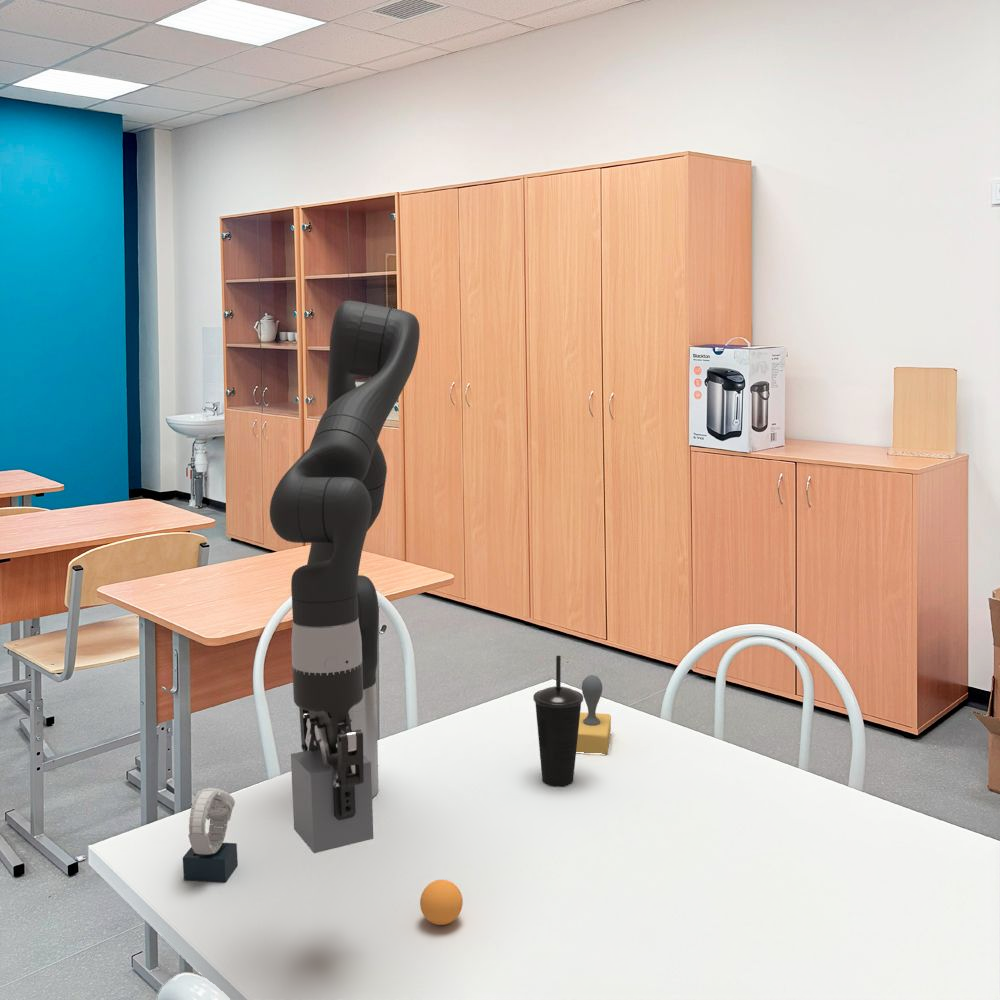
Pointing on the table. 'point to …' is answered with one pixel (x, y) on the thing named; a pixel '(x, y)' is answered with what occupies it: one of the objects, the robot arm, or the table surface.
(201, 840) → the watch
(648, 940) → the table surface
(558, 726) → the drinking cup
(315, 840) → the grey block
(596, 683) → the rubber stamp
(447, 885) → the ball
